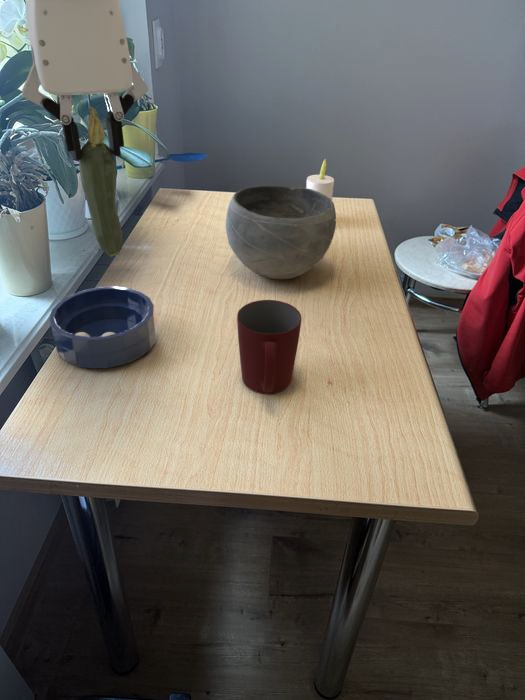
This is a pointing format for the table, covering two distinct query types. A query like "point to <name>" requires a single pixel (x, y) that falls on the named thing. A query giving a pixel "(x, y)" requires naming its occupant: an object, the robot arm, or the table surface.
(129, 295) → the mixing bowl
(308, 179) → the candle
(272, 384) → the mug
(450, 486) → the table surface
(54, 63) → the robot arm
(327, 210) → the bowl
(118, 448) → the table surface
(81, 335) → the beige small ball
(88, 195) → the vegetable
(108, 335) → the dumpling
